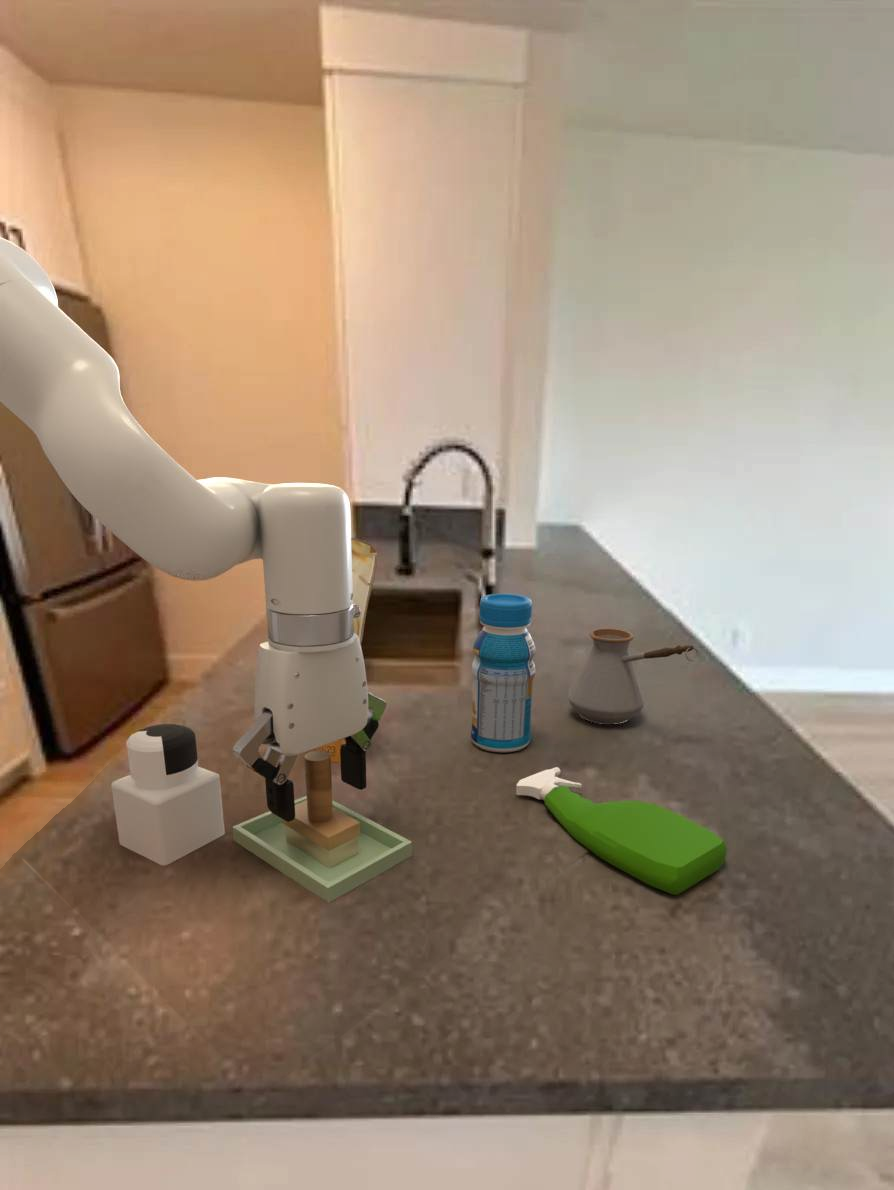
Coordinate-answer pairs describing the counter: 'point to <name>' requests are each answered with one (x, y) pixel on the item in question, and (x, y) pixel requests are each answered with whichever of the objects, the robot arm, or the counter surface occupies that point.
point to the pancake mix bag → (362, 585)
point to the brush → (322, 817)
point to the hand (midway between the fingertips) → (319, 799)
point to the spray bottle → (632, 834)
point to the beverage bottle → (503, 674)
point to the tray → (270, 845)
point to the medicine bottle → (166, 796)
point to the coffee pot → (612, 678)
